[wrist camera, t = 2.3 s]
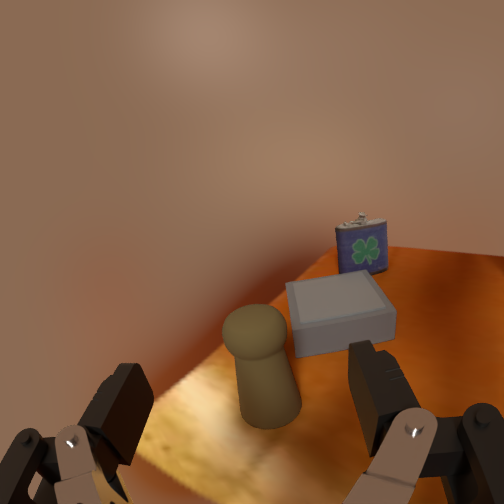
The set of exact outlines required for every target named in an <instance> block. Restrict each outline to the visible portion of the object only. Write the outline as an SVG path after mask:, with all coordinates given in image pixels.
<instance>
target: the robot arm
mask: <svg viewBox="0 0 504 504" xmlns="http://www.w3.org/2000/svg"><path fill="white" fill-rule="evenodd" d="M348 380H349V387H350V391H351V394H352V397H353V400H354V404H355V407H356V410H357V414H358V417H359V421H360V424H361V427H362V431H363V434H364V438H365V442H366V445H367V449H368V452H369V456H370V457H373V456H375V457H374V459H373V461H372V463H371V464H370V466H369V468H368V469H367V471H366V472H363V473H362V475H361V476H360V477H359V479H358V480H357V482H356V483H355V485H354V486H353V488H352V489H351V491H350V493H349V494H348V496H347V497H346V498H345V500H344V501H343V503H342V504H408V502H409V500H410V498H411V496H412V493H413V491H414V489H415V484H416V482H417V480H418V478H424V477H438V476H440V477H441V480H442V484H443V487H444V490H445V494H446V497H447V501H448V504H504V419H503V417H502V415H501V414H500V412H499V411H498V409H497V408H496V407H494V406H492V405H490V404H487V403H477V404H474V405H472V406H470V407H469V408H468V409H467V410H466V411H465V413H464V415H463V416H459V417H446V418H440V417H435V416H434V415H433V414H432V413H431V412H430V411H428V410H426V409H423V408H421V407H420V405H419V403H418V401H417V399H416V397H415V395H414V393H413V391H412V389H411V387H410V385H409V383H408V381H407V380H406V378H405V377H404V374H403V372H402V370H401V369H400V366H399V364H398V363H397V361H396V359H395V357H393V356H392V355H391V354H389V353H388V352H387V351H385V350H383V351H378V352H376V351H375V349H374V347H373V345H372V343H371V341H370V340H364V341H359V342H354V343H350V344H349V357H348ZM153 403H154V395H153V391H152V389H151V387H150V385H149V383H148V381H147V378H146V376H145V374H144V372H143V370H142V368H141V366H140V365H139V364H138V363H121V364H119V366H118V367H117V369H116V370H115V372H114V374H113V375H110V376H109V377H108V378H107V379H106V380H105V381H103V382H102V384H101V385H100V387H99V388H98V390H97V393H96V394H95V396H94V397H93V400H92V401H91V402H90V404H89V405H88V407H87V409H86V411H85V412H84V414H83V416H82V417H81V419H80V421H79V423H78V424H77V425H70V426H67V427H65V428H63V429H62V430H61V431H60V432H59V433H58V434H57V436H56V437H48V438H42V436H41V435H40V434H39V432H38V431H37V430H35V429H33V428H28V429H24V430H22V431H21V432H20V433H18V434H17V436H16V437H15V439H14V440H13V442H12V444H11V446H10V448H9V449H8V451H7V453H6V454H5V456H4V458H3V460H2V461H1V463H0V504H133V501H132V499H131V497H130V495H129V493H128V491H127V488H126V486H125V484H124V482H123V479H122V477H121V475H120V472H119V471H118V470H117V467H118V464H122V465H128V466H130V465H131V462H132V459H133V457H134V454H135V451H136V449H137V446H138V443H139V440H140V438H141V435H142V433H143V430H144V427H145V425H146V422H147V419H148V417H149V414H150V412H151V409H152V406H153ZM36 471H37V472H38V473H39V474H40V475H41V476H42V477H43V478H42V481H41V483H40V485H39V487H38V490H37V492H36V494H35V497H34V499H33V500H32V499H30V497H29V495H28V487H29V485H30V483H31V480H32V478H33V476H34V474H35V472H36Z"/></svg>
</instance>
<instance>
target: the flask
mask: <svg viewBox="0 0 504 504" xmlns="http://www.w3.org/2000/svg"><path fill="white" fill-rule="evenodd" d="M366 216H367V215H366ZM350 222H351V223H346V222H344V224H341V225H338V226H337V227H336V228H335V232H336V241H337V250H338V264H339V274H343V273H349V272H355V271H360V270H367V271H368V273H369V274H370V275H374V274H377V273H380V272H384V271H386V270H387V269H388V248H387V247H388V244H387V221H386V220H385V219H381V218H379V219H374V220H369V221H367V219H366V217H365V213H364V212H362V213H361V212H360V213H359V218H358V219H357V220H355V221H350Z"/></svg>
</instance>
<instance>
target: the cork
mask: <svg viewBox="0 0 504 504" xmlns="http://www.w3.org/2000/svg"><path fill="white" fill-rule="evenodd" d="M222 336H223V340H224V343H225V346H226V348H227V349H228V351H229V352H230V353H231V354H232V355H233V356H234V357H235V367H236V376H237V385H238V394H239V403H240V411H241V415H242V418H243V419H244V420H245V421H246V422H247V423H248V424H250V425H251V426H253V427H256V428H261V429H275V428H278V427H282V426H285V425H286V424H288V423H290V422H291V421H293V420H294V419H295V418H296V416H297V415H298V414H299V412H300V410H301V407H302V403H301V397H300V394H299V391H298V388H297V385H296V382H295V379H294V376H293V373H292V370H291V367H290V364H289V361H288V358H287V355H286V352H285V349H284V344H285V342H286V338H287V324H286V321H285V319H284V317H283V315H282V314H281V313H280V312H279V311H278V310H277V309H276V308H274V307H273V306H269V305H265V304H253V305H247V306H244V307H241V308H239V309H237V310H235V311H234V312H232V313H231V314H229V316H228V317H227V318H226V319H225V322H224V325H223V328H222Z"/></svg>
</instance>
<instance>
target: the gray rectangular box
mask: <svg viewBox="0 0 504 504" xmlns="http://www.w3.org/2000/svg"><path fill="white" fill-rule="evenodd" d="M286 290H287V297H288V304H289V311H290V318H291V325H292V332H293V339H294V347H295V354H296V358H300V357H307V356H313V355H319V354H325V353H330V352H336V351H341V350H346V349H349V344H350V343H354V342H359V341H364V340H370V341H371V343H372V344H375V343H380V342H384V341H388V340H392V339H395V328H396V314H397V311H396V309H395V308H394V306H393V305H392V304H391V302H390V301H389V299H388V298H387V297H386V295H385V294H384V293H383V291H382V290H381V289H380V287H379V286H378V285H377V283H376V282H375V281H374V279H373V278H372V277H371V275H370V274H369V273H368V271H367V270H360V271H355V272H349V273H343V274H337V275H331V276H325V277H319V278H313V279H307V280H301V281H294V282H288V283H286Z"/></svg>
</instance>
